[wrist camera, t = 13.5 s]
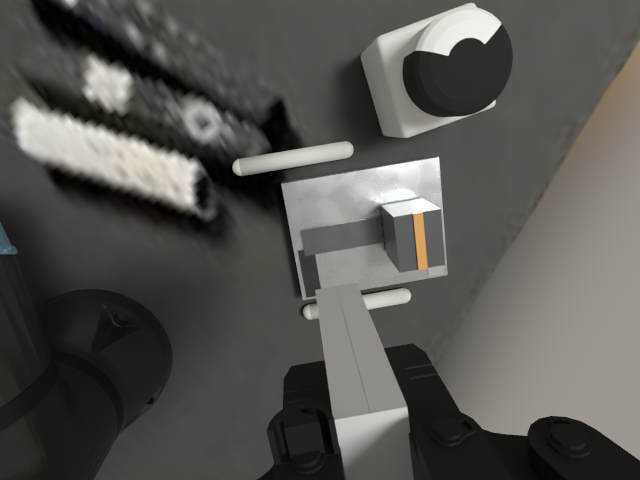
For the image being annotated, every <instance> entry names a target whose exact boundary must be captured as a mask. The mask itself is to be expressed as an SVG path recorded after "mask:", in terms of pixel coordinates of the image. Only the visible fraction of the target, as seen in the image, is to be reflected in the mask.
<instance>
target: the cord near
mask: <svg viewBox="0 0 640 480" xmlns="http://www.w3.org/2000/svg"><path fill="white" fill-rule="evenodd" d="M353 151H354V148H353V145H352V144H351V143H350V142H347V141H343V142H337V143H331V144H325V145H319V146H313V147H307V148H301V149H295V150H289V151H283V152H277V153H271V154H265V155H259V156H253V157H247V158H241V159H237V160H236V161H234V163H233V165H232V169H233V171H234V173H235V174H236V175H239V176H245V175H251V174H256V173H262V172H268V171H274V170H280V169H286V168H292V167H298V166H304V165H310V164H316V163H322V162H328V161H334V160H340V159H345V158H349V157H350V156H351V155H352V154H353Z"/></svg>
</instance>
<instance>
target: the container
mask: <svg viewBox="0 0 640 480" xmlns="http://www.w3.org/2000/svg"><path fill="white" fill-rule="evenodd" d="M512 59H513V54H512V46H511V41H510V38H509V35H508V33H507V31H506V29H505V28H504V26H503V25H502V23H501V22H500V21H499V20H498V19H497V18H496V17H495V16H493V15H492V14H491V13H489V12H487V11H485V10H482V9H479V8H476V5H475V4H474V3H468V4H465V5H463V6H460V7H457V8H454V9H452V10H449V11H446V12H443V13H441V14H438V15H435V16H432V17H430V18H427V19H424V20H422V21H419V22H416V23H413V24H411V25H408V26H405V27H402V28H400V29H397V30H394V31H391V32H389V33H386V34H383V35H381V36H379V37H377V38H376V39H375V40H374V41H373V43H372V44H371V45H370V46H369V47H368V48H367V49H366V50H365V51H364V52H363V53H362V54H361V61H362V65H363V68H364V72H365V75H366V79H367V82H368V86H369V89H370V92H371V96H372V99H373V103H374V106H375V110H376V113H377V117H378V120H379V124H380V127H381V130H382V134H383V135H384V136H389V137H398V138H409V137H412V136H414V135H417V134H420V133H423V132H426V131H428V130H431V129H434V128H437V127H440V126H442V125H445V124H448V123H451V122H454V121H456V120H459V119H462V118H465V117H468V116H470V115H473V114H476V113H479V112H482V111H484V110H487V109H490V108H492V107H493V106H494V105H495V100H496V99H497V97H498V96H499V95H500V94H501V92H502V91H503V89H504V87H505V85H506V83H507V81H508V79H509V76H510V73H511V68H512Z"/></svg>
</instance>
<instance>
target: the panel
mask: <svg viewBox="0 0 640 480" xmlns="http://www.w3.org/2000/svg"><path fill="white" fill-rule="evenodd" d="M281 186H282V191H283V196H284V202H285V207H286V212H287V218H288V223H289V228H290V234H291V239H292V244H293V250H294V255H295V260H296V266H297V271H298V276H299V282H300V287H301V292H302V298H303V300H308V299H313V298H316V292H315V290H317V289H323V288H329V287H335V286H340V285H346V284H352V283H357V285H358V287H359V290H365V289H370V288H376V287H382V286H388V285H393V284H399V283H405V282H410V281H416V280H422V279H428V278H433V277H439V276H445V275H448V274H447V260H446V247H445V233H444V220H443V207H442V193H441V180H440V166H439V157H436V156H426V157H421V158H415V159H409V160H403V161H397V162H391V163H385V164H379V165H373V166H367V167H361V168H356V169H350V170H344V171H338V172H332V173H326V174H320V175H314V176H308V177H302V178H296V179H291V180H285V181H282V182H281ZM421 198H422V199H424V200H426V201H428V202H430V203H431V204H433V205H435V206H437V207H439V208H440V209H441V216H442V229H443V242H444V255H445V265H442V266H436V267H430V268H428V269H424V270H413V271H408V272H402V273H399V271H398V270H397V268H396V267H395V266H394V264H393V263H392V262H391V260H390V259H389V257H388V256H387V254H386V245H385V237H384V229H383V220H382V212H381V205H386V204H392V203H398V202H404V201H410V200H415V199H421Z"/></svg>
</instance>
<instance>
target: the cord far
mask: <svg viewBox="0 0 640 480" xmlns="http://www.w3.org/2000/svg"><path fill="white" fill-rule="evenodd" d="M362 297H363V300H364V302H365V304H366V307H367V309H374V308H380V307H385V306H391V305H397V304H402V303H407V302H408V301H409V300H410V298H411V293H410V291H409V290H408V289H406V288H400V289H394V290H388V291H382V292H377V293H371V294H365V295H362ZM303 315H304V316H305V318H307V319H310V320H311V319H317V318H319V314H318V307H317V303H314V304H309V305H306V306H305V307H304V309H303Z"/></svg>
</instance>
